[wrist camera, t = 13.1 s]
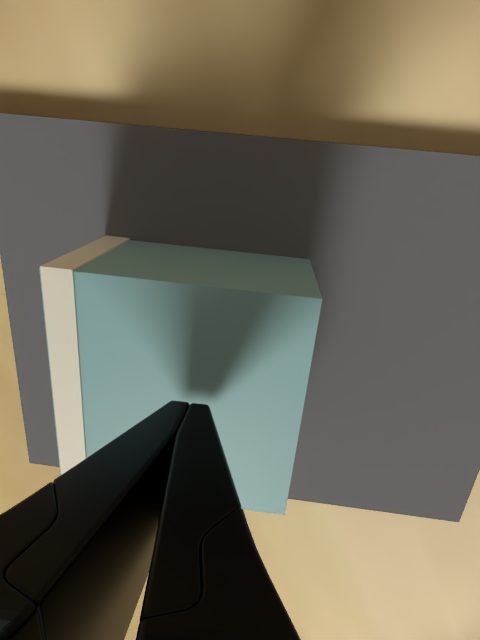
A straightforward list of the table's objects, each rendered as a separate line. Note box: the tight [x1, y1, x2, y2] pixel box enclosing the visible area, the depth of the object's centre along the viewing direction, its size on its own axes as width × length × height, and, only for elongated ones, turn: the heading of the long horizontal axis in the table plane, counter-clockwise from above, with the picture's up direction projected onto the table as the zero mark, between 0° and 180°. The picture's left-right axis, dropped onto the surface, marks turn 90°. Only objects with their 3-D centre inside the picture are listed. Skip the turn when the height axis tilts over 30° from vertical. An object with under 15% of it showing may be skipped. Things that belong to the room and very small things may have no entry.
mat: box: [0, 113, 480, 522], centre depth 13 cm, size 16×12×1 cm
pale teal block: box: [39, 236, 322, 515], centre depth 11 cm, size 4×6×6 cm
